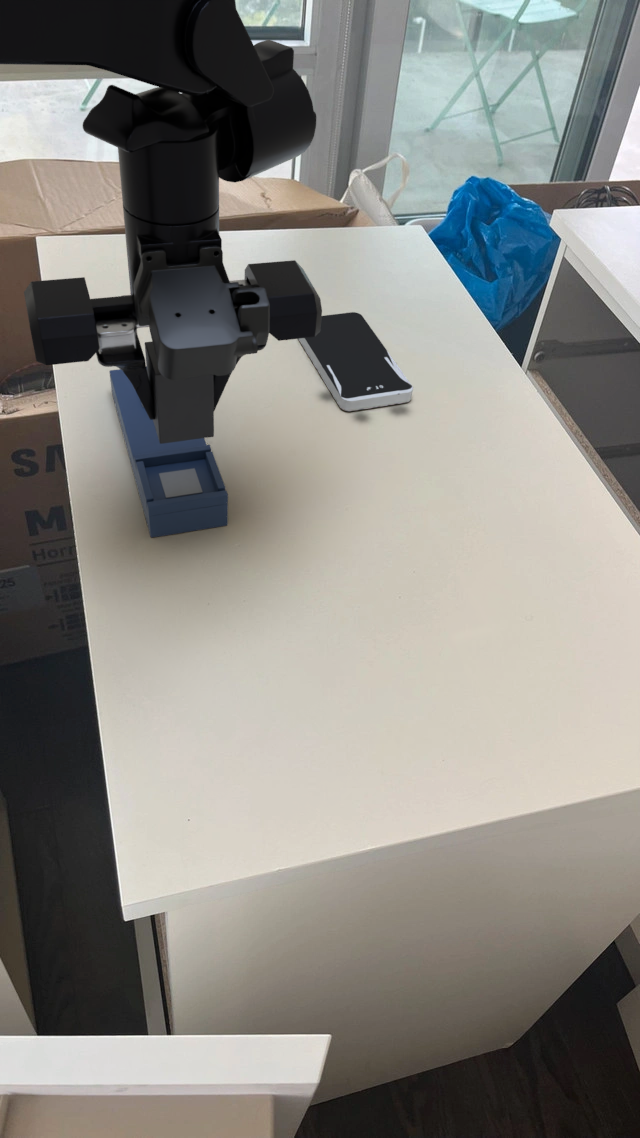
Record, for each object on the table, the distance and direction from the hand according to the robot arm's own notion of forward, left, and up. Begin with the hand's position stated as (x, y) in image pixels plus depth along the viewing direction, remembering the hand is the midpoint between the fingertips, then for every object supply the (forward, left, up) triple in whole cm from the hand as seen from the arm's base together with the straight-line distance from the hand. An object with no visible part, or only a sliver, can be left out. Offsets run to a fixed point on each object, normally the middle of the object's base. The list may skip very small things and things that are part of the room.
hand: (180, 412), depth 62 cm
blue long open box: (0, +8, -11) cm, 14 cm away
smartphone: (+21, +18, -11) cm, 30 cm away
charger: (0, 0, -1) cm, 1 cm away
